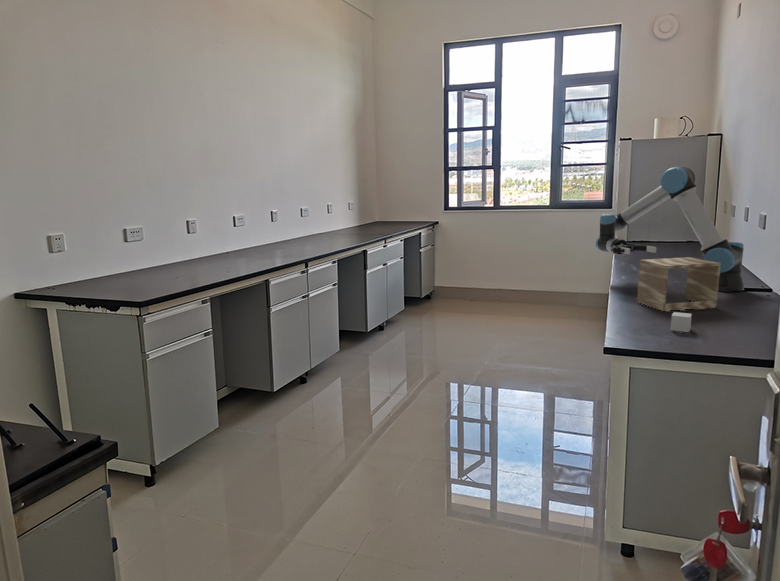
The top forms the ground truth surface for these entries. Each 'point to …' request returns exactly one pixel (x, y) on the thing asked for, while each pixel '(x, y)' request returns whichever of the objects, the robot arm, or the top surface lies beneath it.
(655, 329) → the top surface
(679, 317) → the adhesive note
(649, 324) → the top surface
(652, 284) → the cubby box
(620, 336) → the top surface
